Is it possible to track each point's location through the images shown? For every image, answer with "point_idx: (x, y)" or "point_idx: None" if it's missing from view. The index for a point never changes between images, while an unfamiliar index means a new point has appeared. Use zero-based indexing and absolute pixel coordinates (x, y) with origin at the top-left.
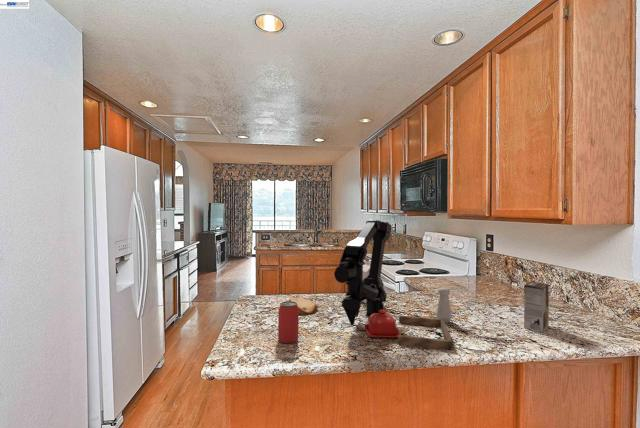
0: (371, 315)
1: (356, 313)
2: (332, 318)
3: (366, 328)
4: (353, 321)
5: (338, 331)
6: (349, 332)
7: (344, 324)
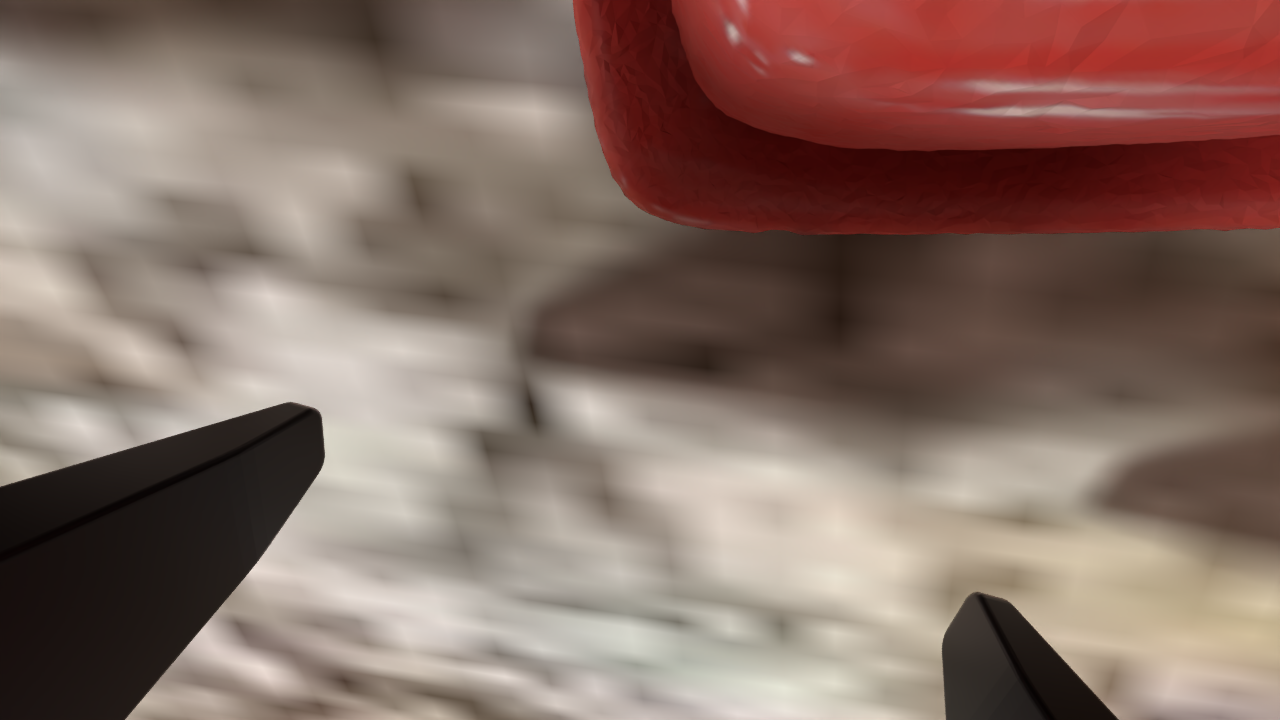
0: (1264, 28)
1: (258, 489)
2: (307, 665)
3: (993, 200)
4: (1078, 707)
5: (900, 693)
6: (973, 547)
7: (529, 560)
